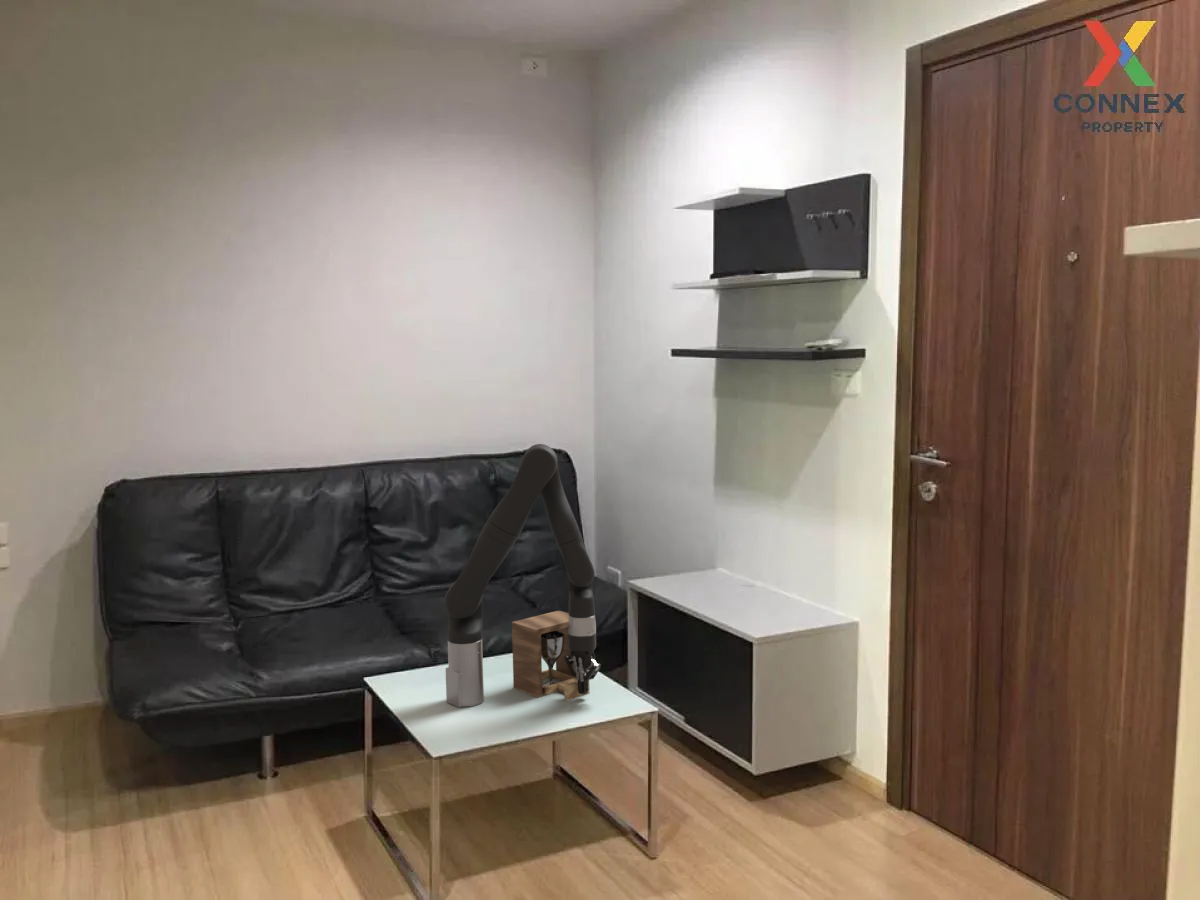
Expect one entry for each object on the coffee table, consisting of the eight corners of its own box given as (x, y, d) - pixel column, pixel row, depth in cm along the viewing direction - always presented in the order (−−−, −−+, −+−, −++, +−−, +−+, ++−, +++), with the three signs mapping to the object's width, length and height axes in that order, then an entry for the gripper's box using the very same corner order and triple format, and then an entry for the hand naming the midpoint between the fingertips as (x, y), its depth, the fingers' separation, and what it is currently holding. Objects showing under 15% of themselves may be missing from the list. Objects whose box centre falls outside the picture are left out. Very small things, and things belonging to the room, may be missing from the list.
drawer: (561, 702, 276) (561, 687, 275) (518, 684, 290) (517, 671, 289) (595, 691, 284) (594, 677, 283) (551, 675, 298) (550, 661, 297)
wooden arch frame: (538, 697, 279) (536, 629, 277) (513, 687, 287) (511, 621, 285) (584, 682, 291) (583, 617, 288) (560, 673, 299) (558, 610, 297)
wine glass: (561, 691, 284) (560, 639, 282) (533, 690, 285) (532, 638, 284) (567, 682, 291) (566, 630, 290) (540, 680, 293) (539, 629, 291)
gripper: (555, 629, 278) (557, 690, 280) (587, 639, 269) (588, 702, 270) (576, 623, 283) (577, 684, 285) (608, 633, 274) (609, 696, 275)
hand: (583, 693), depth 278 cm, fingers closed
